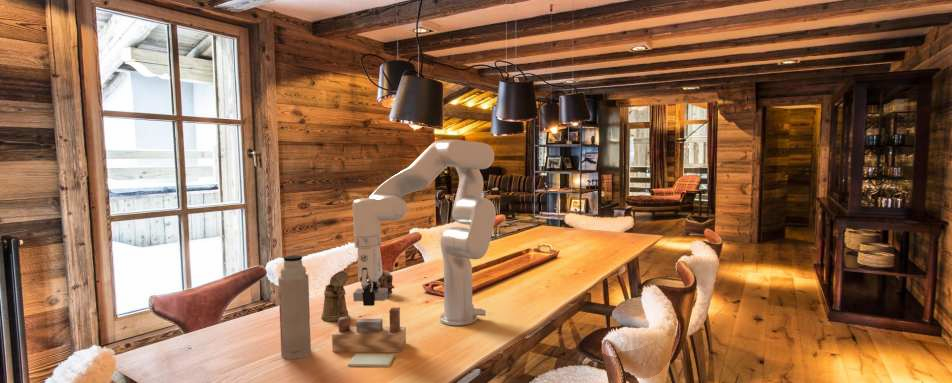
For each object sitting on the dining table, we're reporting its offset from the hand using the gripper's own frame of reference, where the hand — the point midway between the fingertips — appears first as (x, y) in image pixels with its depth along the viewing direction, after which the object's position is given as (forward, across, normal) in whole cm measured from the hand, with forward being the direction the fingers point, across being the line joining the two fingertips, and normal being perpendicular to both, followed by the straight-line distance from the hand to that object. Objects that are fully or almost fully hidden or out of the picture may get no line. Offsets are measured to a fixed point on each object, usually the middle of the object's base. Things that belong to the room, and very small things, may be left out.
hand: (371, 301), depth 148 cm
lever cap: (-1, 0, 0) cm, 1 cm away
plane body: (+13, -1, +1) cm, 13 cm away
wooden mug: (+14, +24, +19) cm, 34 cm away
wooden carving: (+15, +54, +10) cm, 57 cm away
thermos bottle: (+13, -6, +21) cm, 25 cm away
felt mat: (+13, -11, -2) cm, 17 cm away
